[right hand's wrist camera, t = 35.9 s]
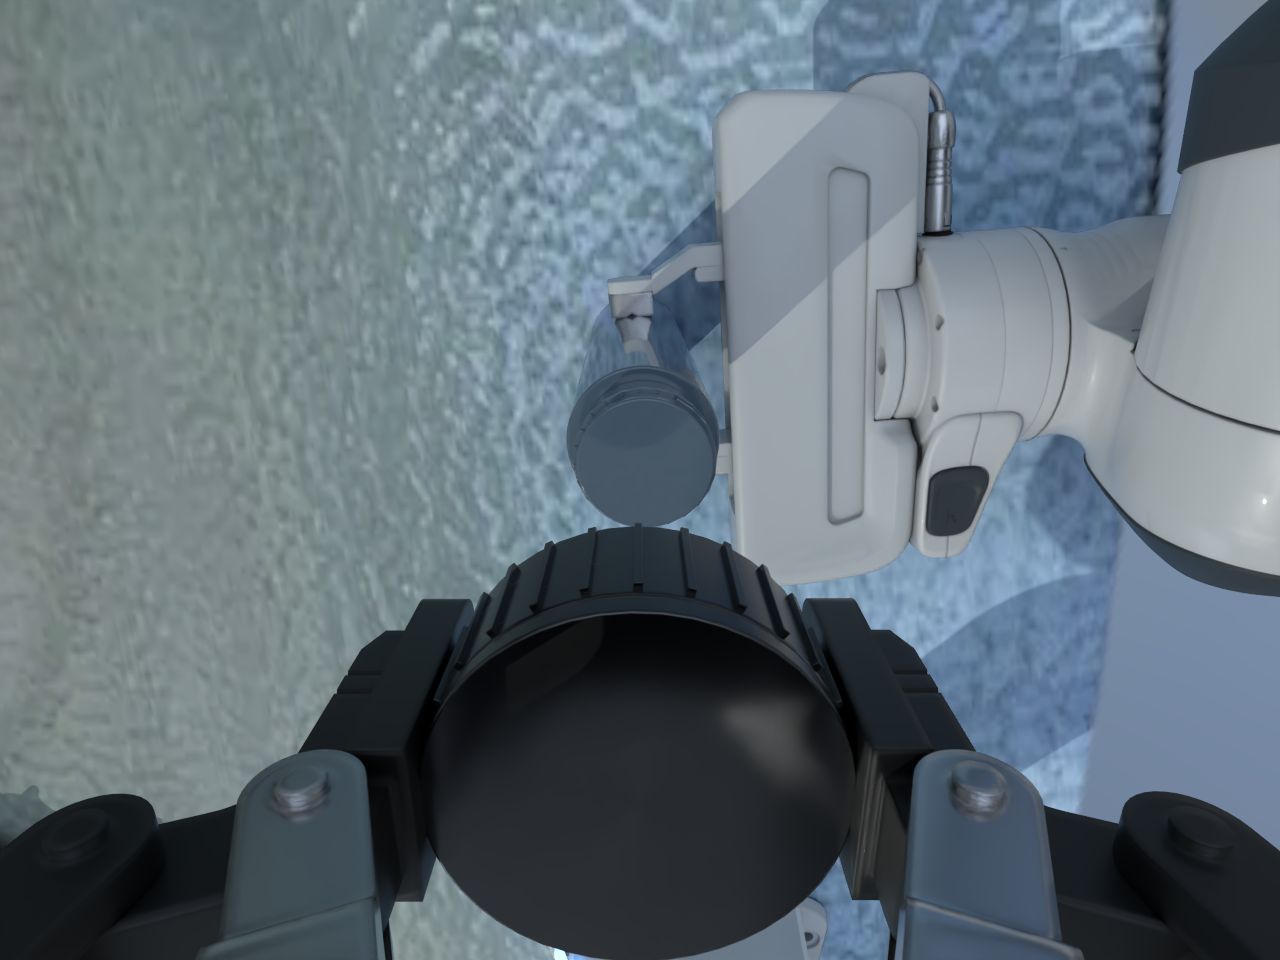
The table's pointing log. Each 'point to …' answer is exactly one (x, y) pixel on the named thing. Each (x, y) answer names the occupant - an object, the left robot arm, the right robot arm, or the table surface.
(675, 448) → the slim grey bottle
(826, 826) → the lid
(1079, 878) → the right robot arm
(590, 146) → the table surface
